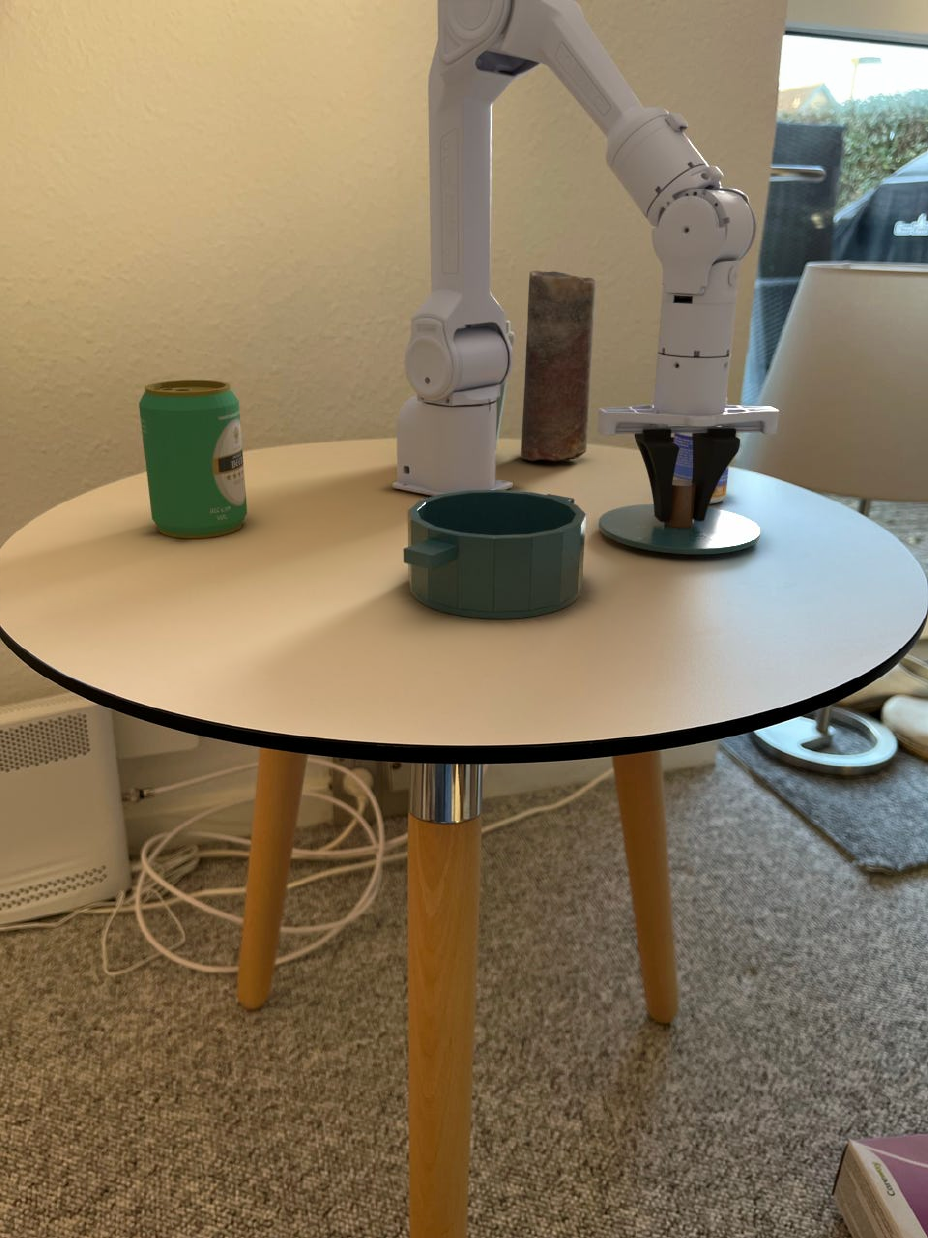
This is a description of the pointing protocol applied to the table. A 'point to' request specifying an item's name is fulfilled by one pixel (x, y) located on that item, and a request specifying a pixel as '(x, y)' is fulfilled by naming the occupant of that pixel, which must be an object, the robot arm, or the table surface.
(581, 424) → the candle
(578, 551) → the pot
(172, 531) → the beverage can
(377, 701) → the table surface
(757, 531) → the lid
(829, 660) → the table surface
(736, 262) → the robot arm
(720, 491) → the pill bottle
